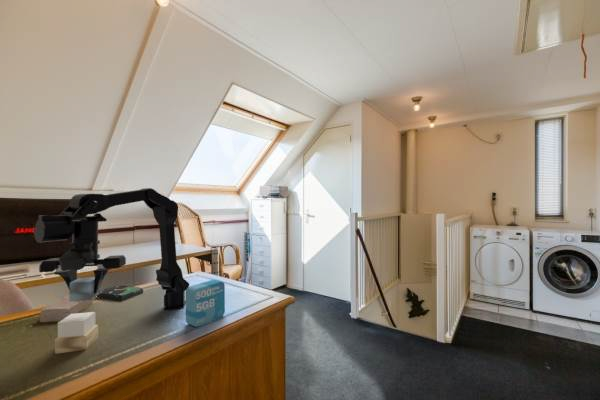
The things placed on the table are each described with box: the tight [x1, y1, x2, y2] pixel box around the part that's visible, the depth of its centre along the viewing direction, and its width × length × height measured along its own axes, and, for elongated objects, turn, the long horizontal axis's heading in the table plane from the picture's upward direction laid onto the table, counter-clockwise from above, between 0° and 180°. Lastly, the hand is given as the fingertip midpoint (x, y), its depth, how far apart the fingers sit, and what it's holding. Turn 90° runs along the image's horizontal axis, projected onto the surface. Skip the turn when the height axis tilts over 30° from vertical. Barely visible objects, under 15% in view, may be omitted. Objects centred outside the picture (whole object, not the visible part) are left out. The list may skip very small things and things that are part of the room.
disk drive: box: [97, 285, 144, 302], centre depth 117 cm, size 10×3×15 cm
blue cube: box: [68, 276, 100, 301], centre depth 78 cm, size 5×5×5 cm
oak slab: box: [54, 324, 99, 355], centre depth 76 cm, size 7×7×4 cm
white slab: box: [57, 311, 97, 338], centre depth 76 cm, size 6×6×4 cm
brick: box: [39, 294, 94, 323], centre depth 100 cm, size 16×8×5 cm, turn 11°
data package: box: [185, 279, 226, 328], centre depth 91 cm, size 12×4×12 cm, turn 144°
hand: (84, 294), depth 78 cm, fingers closed on blue cube, 5 cm apart
